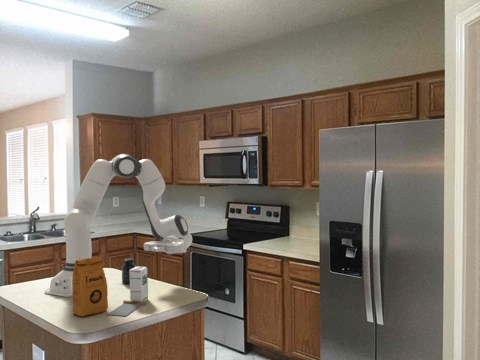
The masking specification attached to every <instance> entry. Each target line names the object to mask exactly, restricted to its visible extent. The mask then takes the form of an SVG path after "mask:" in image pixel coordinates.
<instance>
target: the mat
mask: <svg viewBox="0 0 480 360" xmlns="http://www.w3.org/2000/svg"><path fill="white" fill-rule="evenodd" d="M141 306H142V305H136V304H123V303H122V304H120V305H119V306H117V307H116V308H114V309H113V310H111V311H109V312H108V313H107V314H106V316H114V317H115V316H116V317H127V316H129V315H130V314H132V313H133V312H134V311H136V310H137V309H139V308H140V307H141Z"/></svg>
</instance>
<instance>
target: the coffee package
mask: <svg viewBox="0 0 480 360" xmlns="http://www.w3.org/2000/svg"><path fill="white" fill-rule="evenodd" d="M102 258H103V257H102V256H101V255H100V256H94V257H92V258H88V259H81V260H76V262H75V266H74V272H73V279H72V296H71V298H72V314H73V315H77V316H78V317H85V316H87V317H88V316H89V315H90V316H91V315H96V314H99V313H102V312H106V311H107V310H108V308H109V303H108V301H109V299H108V284H107V283H108V282H107V277H106V274H105V271H104V267H103V264H102V261H103V260H102Z"/></svg>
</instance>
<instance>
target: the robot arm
mask: <svg viewBox="0 0 480 360" xmlns="http://www.w3.org/2000/svg"><path fill="white" fill-rule="evenodd" d="M116 176H118V177H120V178H124V179H129V178H133V177H135V178H136V179H137V180H138V182H139V184H140V186H141V189H142V191H143V194H142V196H141V200H142V205H143V207H144V211H145V213H146V217H147V219H148V222H149V225H150V231H151V234H152V236H153V237H154V238H155V239H156V240H154V241H153V240H151V241H147V242H144V243H143V250H144V251H148V252H157V253H158V252H160V253H165V254H167V255H174V254H184V253H185V254H186V252H187V249H188V248H189V247H190V246H191V245H192V243H193V236H192V234H191V233H190V232H189V226H188V222H187V221H186V220H187V219H185V218H184V217H183V216H181V215H180V214H174V215H173V216H168V217H167V218H163V219H161V218H160V216H159V213H158V211H157V210H158V209H157V207H156V201H157V200H158V199H159V198H160V197H161V196H162V195H163V193H164V191H165V189H166V183H165V179H164V177H163V176H162V174H161V172H160V170H159V169H158V168H157V165H155V163H154V162H153V160H151V159H148V158H144V159H141V160H138V159H136V158H135V157H133V156H131V155H130V154H127V153H121V154H117V155H115V156H114V157H112V158H111V159H110V160H106V159H103V158H102V159H97V160H95V161H94V162H93V164H92V165H91V167H90V168H89V170H88V172H87V173H86V175H85V177H84V179H83V181H82V183H81V185H80V188H79V190H78V192H77V195H76V197H75V200H74V202H73V204H72V207H71V209H70V211H68V212H67V214H66V215H65V216H64V219H63V225H64V237H65V238H64V239H65V248H66V251H65V252H66V254H65V255H66V257H65V258H66V259H65V260H66V261H64V263H61V264H60V265H61V267H63V268H62V270H60V272H58V273H57V274H56V275H55V276H53V277H52V278H51V280H50V283H49V287H48V288H46V289H45V290H44V294H45V295H46V294H47V295H52V296H60V297H65V298H69V297H72V279H73V272H74V266H75V262H76V260H81V259H88V258H93V257H92V256H93V255H92V251H93V250H92V247H93V246H92V244H93V243H92V236H91V224H92V222H93V220H94V218H95V216H96V213H97V211H98V209H99V206H100V204H101V203H102V201H103V198H104V195H105V193H106V192H107V190H108V187H109V185H110V183H111V181H112V180H113V178H114V177H116ZM158 240H159V241H158Z"/></svg>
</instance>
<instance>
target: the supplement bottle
mask: <svg viewBox="0 0 480 360" xmlns="http://www.w3.org/2000/svg"><path fill="white" fill-rule="evenodd" d="M135 267H137V266H136V264H135V259H134V258H133V257H132V258H124V259H123V264H122V266H121V283H122V284H123V285H130V269H133V268H135Z"/></svg>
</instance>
